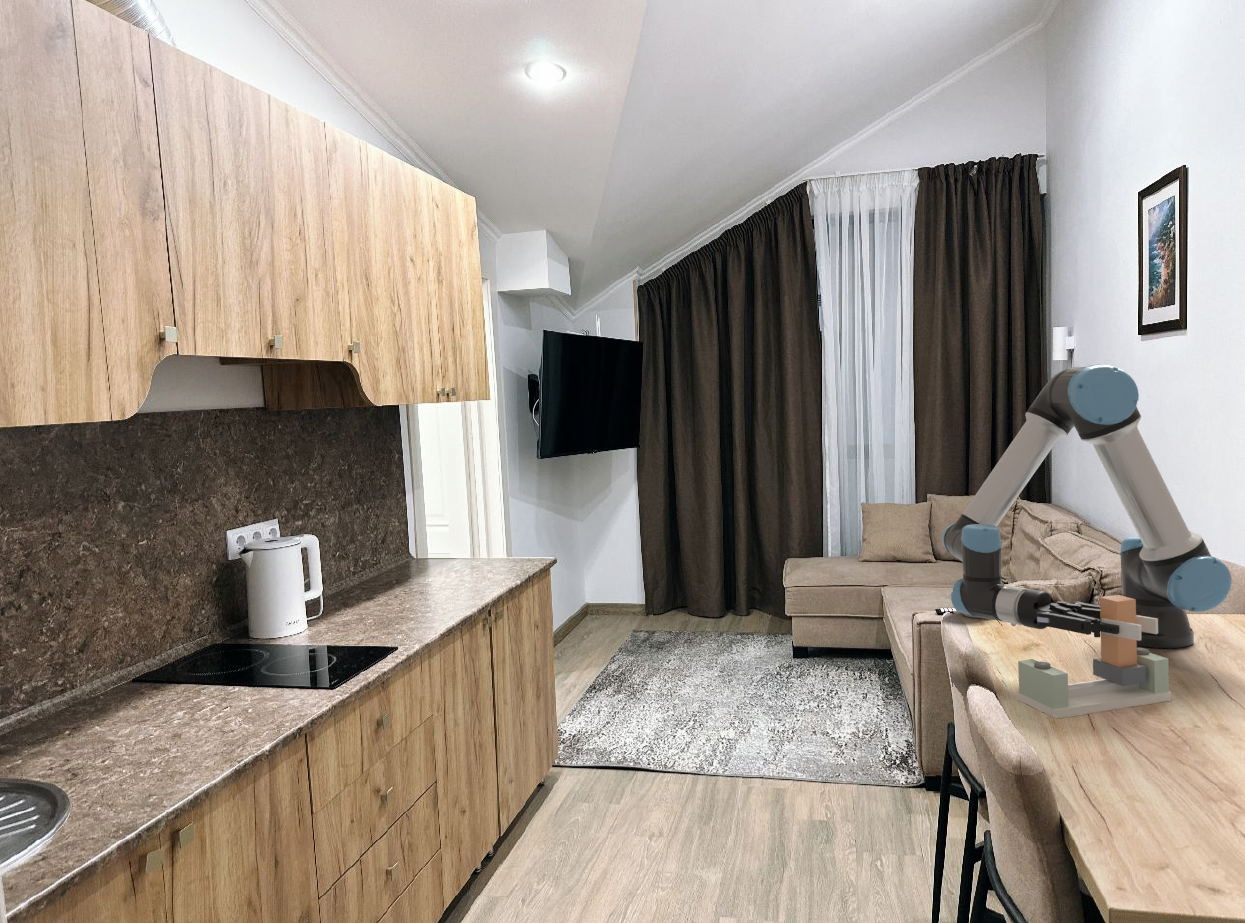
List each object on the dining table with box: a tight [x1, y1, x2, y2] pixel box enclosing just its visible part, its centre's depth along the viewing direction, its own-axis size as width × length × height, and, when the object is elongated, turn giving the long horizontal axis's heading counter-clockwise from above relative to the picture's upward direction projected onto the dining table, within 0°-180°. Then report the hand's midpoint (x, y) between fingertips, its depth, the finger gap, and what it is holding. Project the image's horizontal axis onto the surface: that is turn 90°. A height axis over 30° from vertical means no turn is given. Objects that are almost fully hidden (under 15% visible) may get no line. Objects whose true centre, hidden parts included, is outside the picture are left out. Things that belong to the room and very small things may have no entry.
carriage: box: [1092, 594, 1146, 686], centre depth 156 cm, size 5×7×15 cm
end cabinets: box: [1017, 647, 1170, 709], centre depth 155 cm, size 24×9×7 cm, turn 102°
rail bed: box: [1016, 678, 1172, 720], centre depth 155 cm, size 24×10×3 cm, turn 103°
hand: (1148, 629), depth 151 cm, fingers closed on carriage, 5 cm apart
